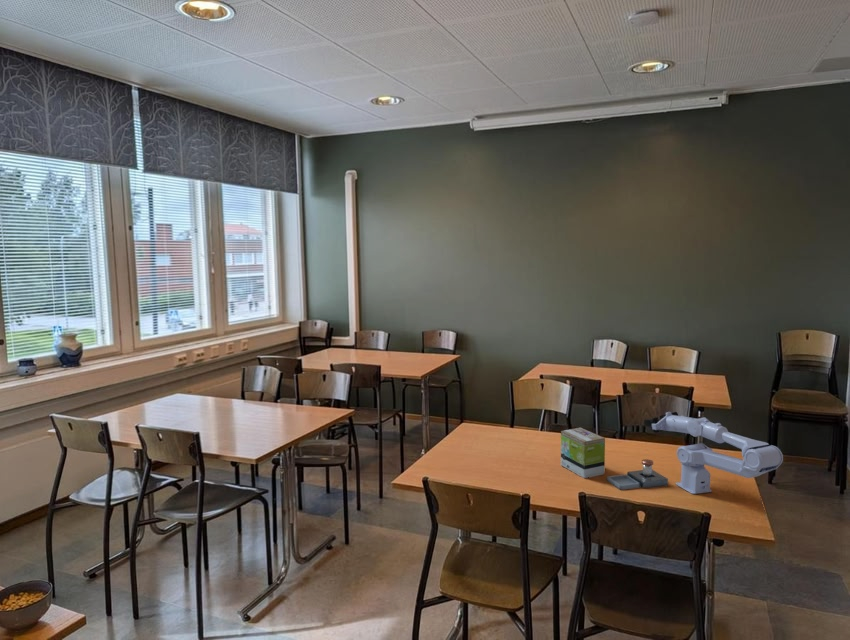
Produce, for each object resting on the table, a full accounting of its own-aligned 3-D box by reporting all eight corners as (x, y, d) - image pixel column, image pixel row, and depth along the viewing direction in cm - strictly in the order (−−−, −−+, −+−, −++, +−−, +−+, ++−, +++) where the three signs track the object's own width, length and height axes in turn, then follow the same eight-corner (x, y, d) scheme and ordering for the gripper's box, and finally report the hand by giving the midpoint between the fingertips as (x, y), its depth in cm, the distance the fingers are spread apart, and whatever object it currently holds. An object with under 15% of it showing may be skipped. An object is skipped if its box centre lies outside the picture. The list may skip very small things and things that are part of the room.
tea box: (559, 466, 232) (560, 429, 231) (580, 462, 236) (580, 426, 235) (584, 479, 219) (584, 440, 217) (605, 474, 222) (606, 437, 221)
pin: (655, 483, 213) (655, 462, 212) (645, 484, 212) (646, 463, 212) (648, 479, 217) (649, 458, 216) (639, 480, 216) (639, 459, 215)
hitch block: (667, 485, 211) (667, 478, 211) (643, 488, 209) (643, 481, 209) (650, 475, 221) (651, 468, 221) (627, 478, 219) (627, 471, 218)
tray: (640, 487, 210) (640, 483, 210) (620, 489, 208) (620, 485, 208) (626, 478, 218) (626, 474, 218) (606, 480, 217) (606, 476, 216)
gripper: (693, 409, 215) (665, 406, 228) (662, 417, 210) (636, 414, 223) (696, 428, 215) (668, 424, 228) (665, 437, 210) (639, 432, 223)
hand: (652, 420), depth 225 cm, fingers open, 7 cm apart
